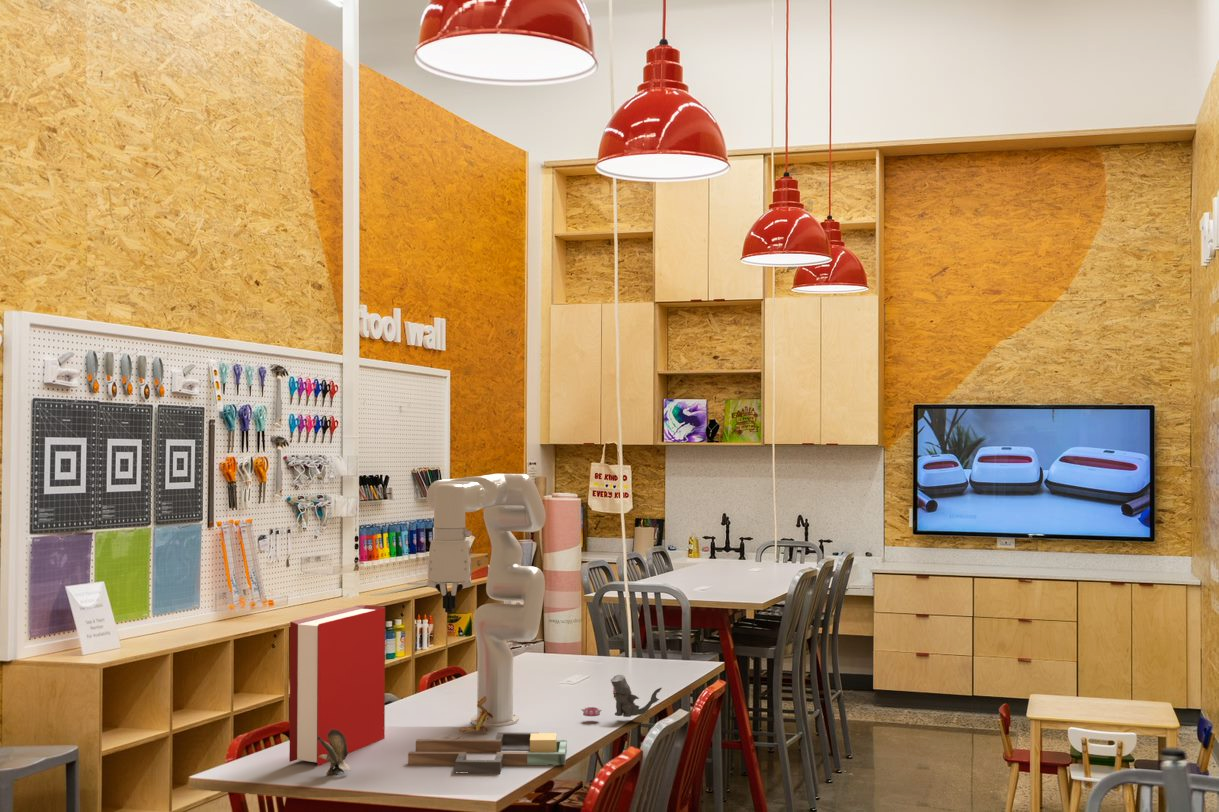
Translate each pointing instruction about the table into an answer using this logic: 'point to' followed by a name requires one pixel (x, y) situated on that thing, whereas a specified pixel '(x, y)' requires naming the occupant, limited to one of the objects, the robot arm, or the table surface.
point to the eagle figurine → (335, 752)
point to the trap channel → (456, 751)
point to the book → (337, 680)
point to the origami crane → (482, 717)
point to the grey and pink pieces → (623, 700)
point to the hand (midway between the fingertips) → (449, 611)
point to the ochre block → (543, 742)
